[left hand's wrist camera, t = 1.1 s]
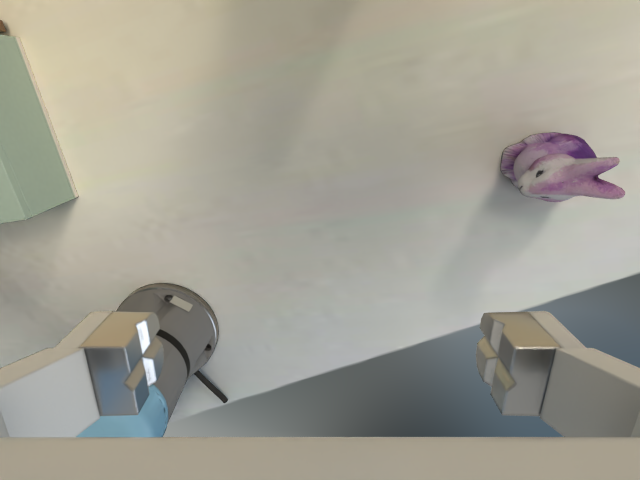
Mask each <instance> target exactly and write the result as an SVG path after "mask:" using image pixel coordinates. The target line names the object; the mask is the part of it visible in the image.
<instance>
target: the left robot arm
mask: <svg viewBox="0 0 640 480" xmlns="http://www.w3.org/2000/svg"><path fill="white" fill-rule="evenodd" d="M159 329H160V324H159V319H158V316H157V315H156V314H155V312H113V311H100V312H91V313H89V314H88V315H87V316H86V317H85V318H84V319H83V320H82V321H81V322H80V323H79V324H78V325H77V326H76V327H75V328H74V329H73V330H72V331H71V332H70V333H69V334H68V335H67V336H66V337H65V338H64V339H63V340H62V341H61V342H60V343H59V344H57V345H56V346H55V347H54V348H46V349H44V350H42V351H39V352H37V353H35V354H32V355H30V356H28V357H25V358H23V359H21V360H18V361H16V362H14V363H11V364H9V365H7V366H4V367H2V368H0V480H640V368H638V367H636V366H633V365H631V364H629V363H626V362H624V361H622V360H619V359H617V358H615V357H612V356H610V355H608V354H605V353H603V352H601V351H598V350H596V349H594V348H586V347H585V346H584V345H583V344H581V343H580V342H579V341H578V340H577V339H576V338H575V337H574V336H573V335H572V334H571V333H570V332H569V331H568V330H567V329H566V328H565V327H564V326H563V325H562V324H561V323H560V322H559V321H558V320H557V319H556V318H555V317H554V316H553V315H552V314H551V313H549V312H546V311H535V312H495V313H484V314H483V316H482V318H481V323H480V329H481V331H482V332H483V334H484V335H485V336H484V337H483V338H482V339H481V340H480V341H479V342H478V343H477V350H476V362H477V368H478V371H479V374H480V376H481V378H482V380H483V382H485V383H487V384H488V385H490V386H491V387H492V388H491V396H492V398H493V400H494V401H495V403H496V405H497V407H498V409H499V410H500V412H501V414H502V415H516V416H540V418H541V419H542V420H543V421H544V422H546V423H547V424H548V425H550V426H551V427H552V428H554V429H555V430H556V431H557V432H559V433H560V434H561V435H563V436H564V437H76V436H78V435H79V434H80V433H81V432H83V431H84V430H85V429H87V428H88V427H89V426H91V425H92V424H93V423H94V422H96V421H97V420H98V419H100V416H123V415H138V414H139V412H140V410H141V409H142V407H143V405H144V403H145V402H146V400H147V398H148V396H149V388H148V387H149V386H150V385H152V384H153V383H155V382H156V381H157V380H158V378H159V376H160V374H161V371H162V367H163V363H164V349H163V343H162V342H161V341H160V340H159V339H158V338H157V337H156V336H155V335H156V334H157V332H158V331H159Z"/></svg>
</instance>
